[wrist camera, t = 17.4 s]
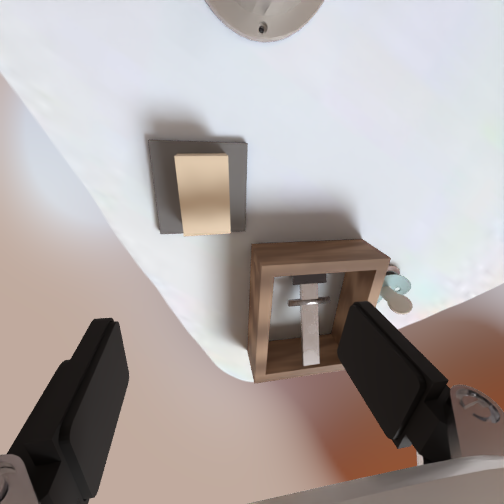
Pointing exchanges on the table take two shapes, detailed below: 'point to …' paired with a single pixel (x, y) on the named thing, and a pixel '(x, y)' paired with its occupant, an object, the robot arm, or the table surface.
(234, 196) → the rubber mat
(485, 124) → the table surface
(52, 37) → the table surface
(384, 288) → the pacifier
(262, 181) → the table surface
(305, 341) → the lever
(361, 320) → the robot arm
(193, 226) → the tan rectangular block
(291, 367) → the block
